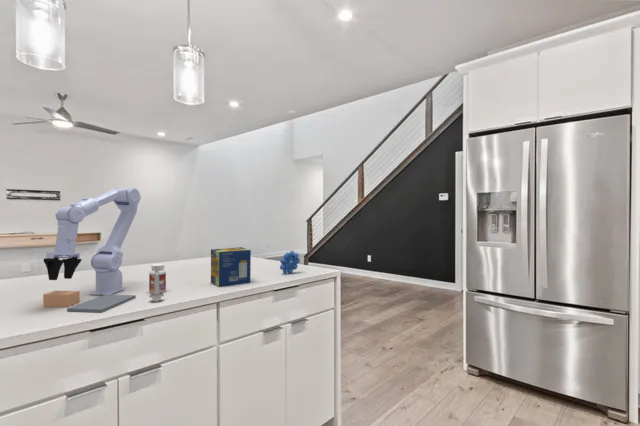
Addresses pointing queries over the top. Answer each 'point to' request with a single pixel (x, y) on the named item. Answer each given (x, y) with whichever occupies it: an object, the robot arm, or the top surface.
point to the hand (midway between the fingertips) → (60, 279)
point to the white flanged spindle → (156, 287)
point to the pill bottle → (162, 278)
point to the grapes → (289, 262)
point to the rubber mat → (101, 303)
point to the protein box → (230, 266)
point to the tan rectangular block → (61, 298)
